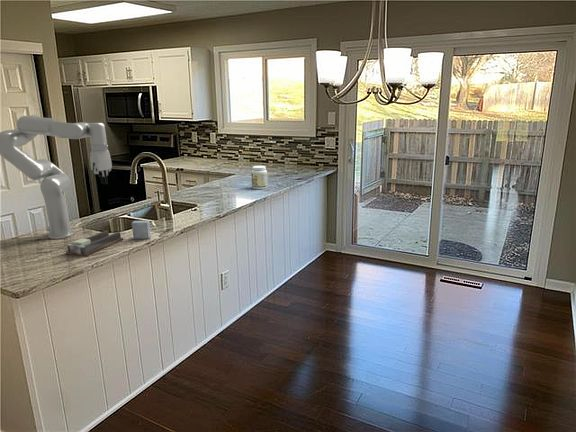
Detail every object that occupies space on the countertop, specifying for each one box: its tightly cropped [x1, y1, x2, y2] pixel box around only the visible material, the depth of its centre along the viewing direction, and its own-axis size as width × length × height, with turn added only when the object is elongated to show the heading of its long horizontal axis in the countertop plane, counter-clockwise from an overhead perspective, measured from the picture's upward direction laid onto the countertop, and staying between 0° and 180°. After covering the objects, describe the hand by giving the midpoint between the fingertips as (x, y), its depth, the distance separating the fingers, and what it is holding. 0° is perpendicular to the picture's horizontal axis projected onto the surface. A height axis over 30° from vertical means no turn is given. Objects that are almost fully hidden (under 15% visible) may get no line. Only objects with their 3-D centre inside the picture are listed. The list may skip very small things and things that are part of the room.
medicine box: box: [131, 220, 152, 240], centre depth 213 cm, size 8×4×9 cm, turn 92°
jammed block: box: [72, 238, 91, 246], centre depth 195 cm, size 5×5×4 cm
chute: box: [65, 230, 124, 257], centre depth 202 cm, size 12×24×5 cm, turn 160°
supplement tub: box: [250, 165, 268, 190], centre depth 326 cm, size 12×12×17 cm
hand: (104, 183), depth 214 cm, fingers closed
